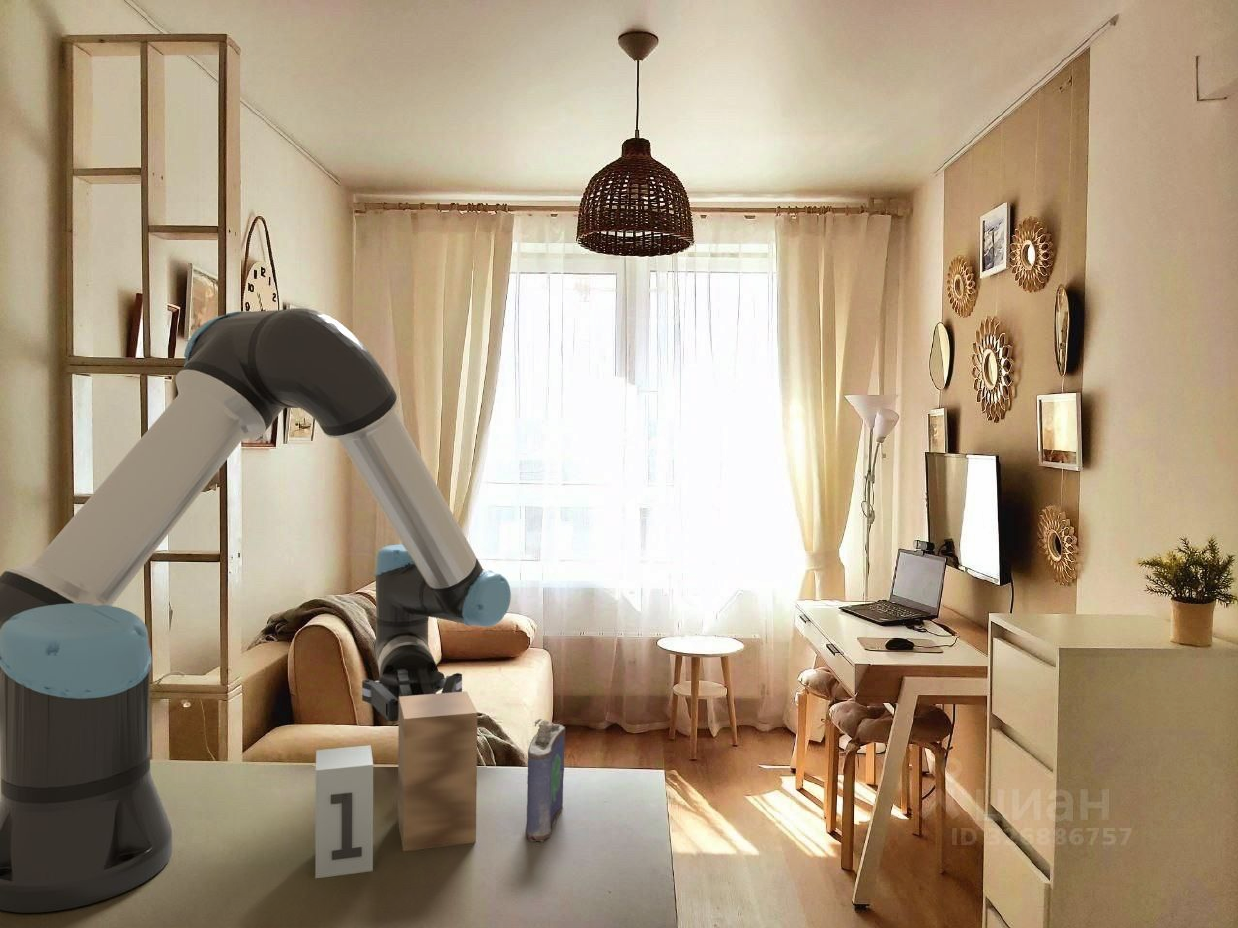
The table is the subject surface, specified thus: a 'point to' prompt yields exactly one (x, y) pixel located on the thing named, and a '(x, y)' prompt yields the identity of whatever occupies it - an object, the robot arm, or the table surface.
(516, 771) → the table surface
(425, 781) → the plain block
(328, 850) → the number block
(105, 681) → the robot arm
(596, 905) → the table surface
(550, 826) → the flask
